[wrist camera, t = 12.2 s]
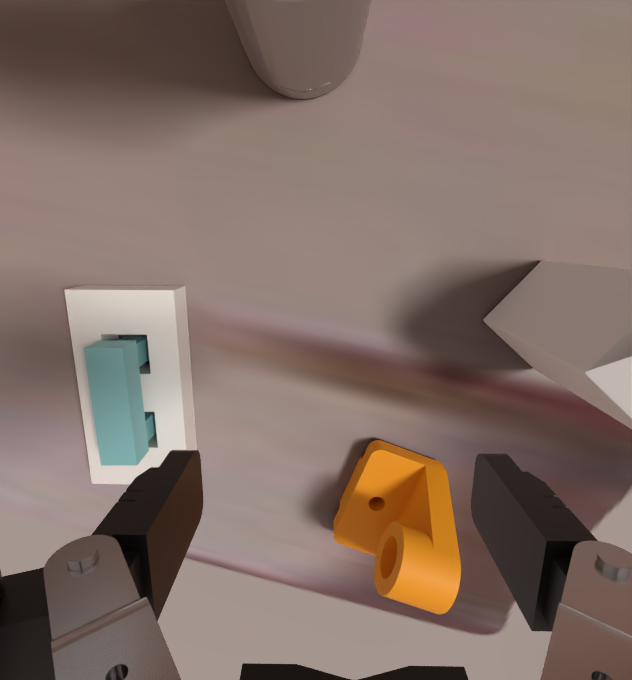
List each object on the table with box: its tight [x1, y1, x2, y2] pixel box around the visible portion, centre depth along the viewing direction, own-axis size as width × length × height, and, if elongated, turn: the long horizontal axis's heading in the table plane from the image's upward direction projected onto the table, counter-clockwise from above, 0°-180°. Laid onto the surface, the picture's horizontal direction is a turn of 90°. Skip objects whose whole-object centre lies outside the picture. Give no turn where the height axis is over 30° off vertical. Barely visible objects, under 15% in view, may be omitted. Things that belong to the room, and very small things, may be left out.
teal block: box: [83, 335, 156, 466], centre depth 36 cm, size 10×3×6 cm, turn 1°
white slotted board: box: [64, 285, 197, 484], centre depth 38 cm, size 18×9×3 cm, turn 0°
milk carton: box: [483, 260, 632, 429], centre depth 28 cm, size 7×7×19 cm
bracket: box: [333, 440, 461, 614], centre depth 36 cm, size 11×7×12 cm, turn 159°
